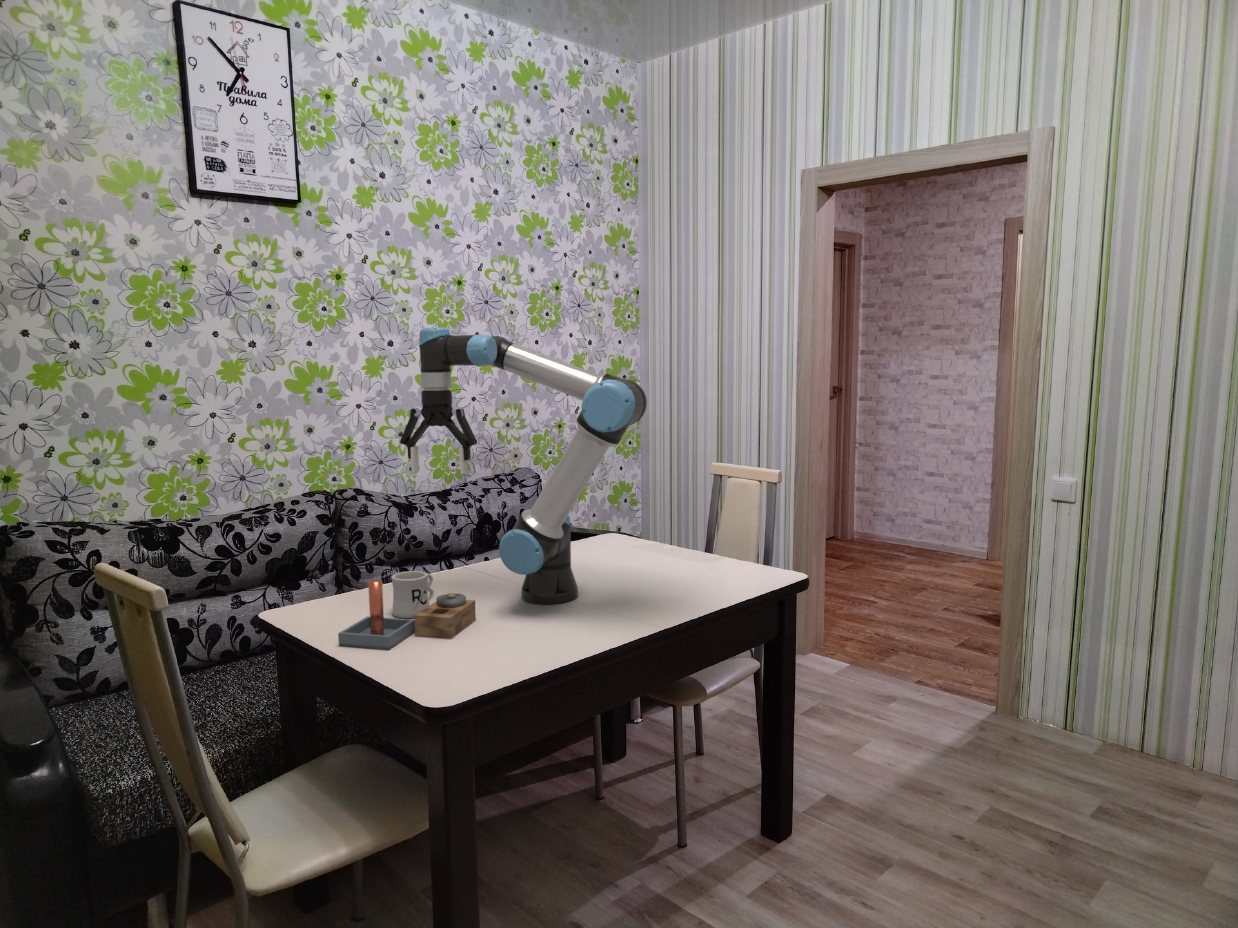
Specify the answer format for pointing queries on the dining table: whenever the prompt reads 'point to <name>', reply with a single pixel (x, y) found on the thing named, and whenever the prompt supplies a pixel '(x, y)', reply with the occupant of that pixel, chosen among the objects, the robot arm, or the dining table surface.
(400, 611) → the mug
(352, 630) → the tray
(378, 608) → the pin
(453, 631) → the block
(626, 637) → the dining table surface
